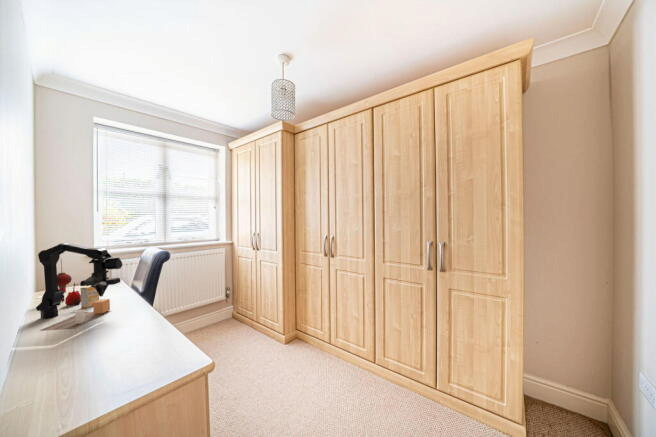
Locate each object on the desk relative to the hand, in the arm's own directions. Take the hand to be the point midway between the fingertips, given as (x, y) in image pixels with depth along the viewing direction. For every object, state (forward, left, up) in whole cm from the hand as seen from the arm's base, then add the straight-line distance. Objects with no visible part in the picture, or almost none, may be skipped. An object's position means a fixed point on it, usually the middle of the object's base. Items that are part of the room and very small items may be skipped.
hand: (101, 296), depth 151 cm
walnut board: (-4, -10, -11) cm, 15 cm away
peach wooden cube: (0, 0, -9) cm, 9 cm away
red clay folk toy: (-34, +21, -11) cm, 42 cm away
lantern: (-48, +29, -11) cm, 57 cm away
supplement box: (-20, +17, -11) cm, 29 cm away
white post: (0, -14, -11) cm, 18 cm away
